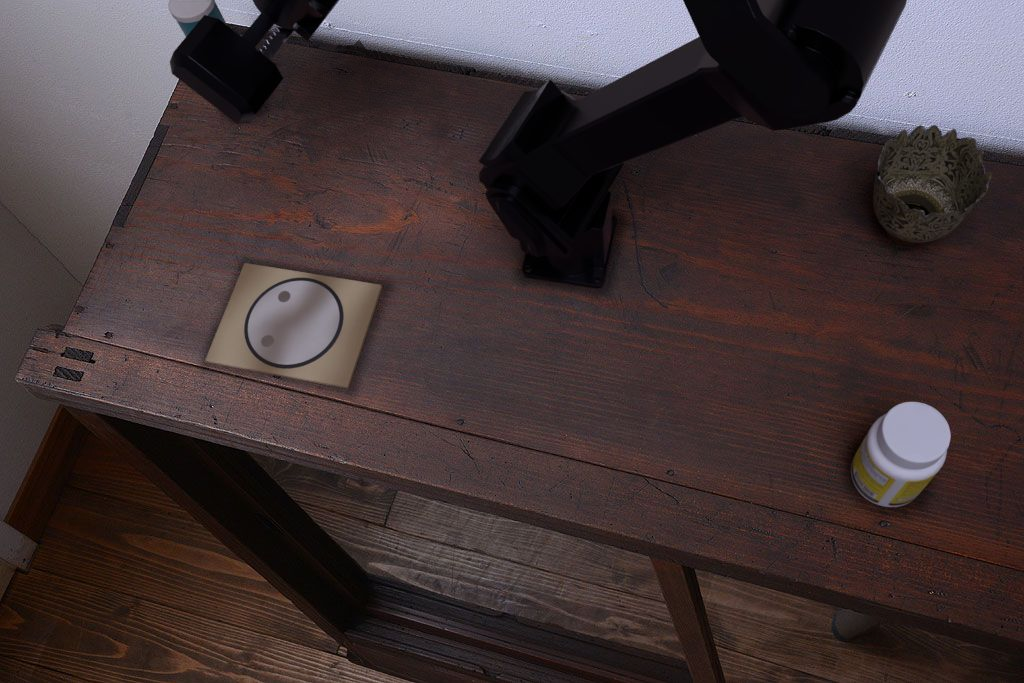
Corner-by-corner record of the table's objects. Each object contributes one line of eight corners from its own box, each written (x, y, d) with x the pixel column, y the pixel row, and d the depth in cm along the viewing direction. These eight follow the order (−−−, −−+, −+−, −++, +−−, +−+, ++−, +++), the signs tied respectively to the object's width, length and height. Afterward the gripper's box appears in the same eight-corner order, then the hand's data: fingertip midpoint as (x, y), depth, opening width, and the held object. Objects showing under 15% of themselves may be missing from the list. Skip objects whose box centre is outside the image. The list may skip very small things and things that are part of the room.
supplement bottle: (927, 453, 67) (964, 407, 59) (916, 517, 65) (953, 478, 57) (856, 434, 68) (883, 386, 60) (842, 496, 66) (869, 456, 58)
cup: (965, 269, 72) (1001, 209, 65) (863, 273, 73) (887, 214, 66) (948, 186, 76) (980, 120, 68) (850, 190, 76) (872, 126, 69)
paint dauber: (271, 90, 88) (218, -15, 77) (257, 121, 86) (202, 19, 75) (235, 85, 89) (178, -19, 78) (221, 116, 87) (160, 15, 76)
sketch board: (383, 287, 77) (381, 283, 77) (349, 389, 74) (347, 386, 73) (246, 265, 80) (243, 261, 79) (206, 362, 76) (203, 359, 76)
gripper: (293, -249, 60) (241, -119, 74) (107, -44, 54) (88, 56, 68) (433, -118, 64) (358, -17, 78) (273, 89, 57) (223, 158, 71)
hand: (260, 40), depth 73 cm, fingers open, 9 cm apart
